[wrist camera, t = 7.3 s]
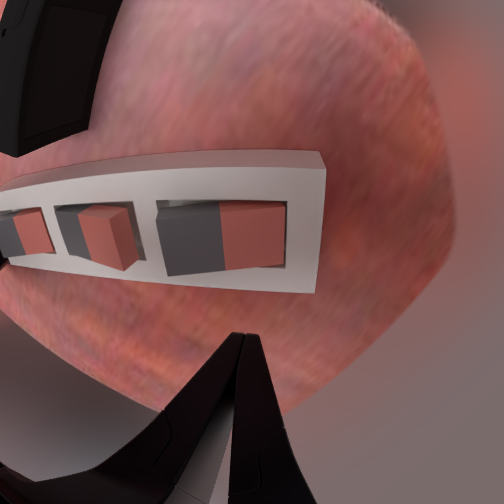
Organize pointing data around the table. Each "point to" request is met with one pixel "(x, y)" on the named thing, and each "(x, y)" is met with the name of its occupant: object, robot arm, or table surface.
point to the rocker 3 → (221, 236)
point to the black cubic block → (50, 68)
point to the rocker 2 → (98, 234)
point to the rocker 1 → (24, 233)
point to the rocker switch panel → (177, 194)
